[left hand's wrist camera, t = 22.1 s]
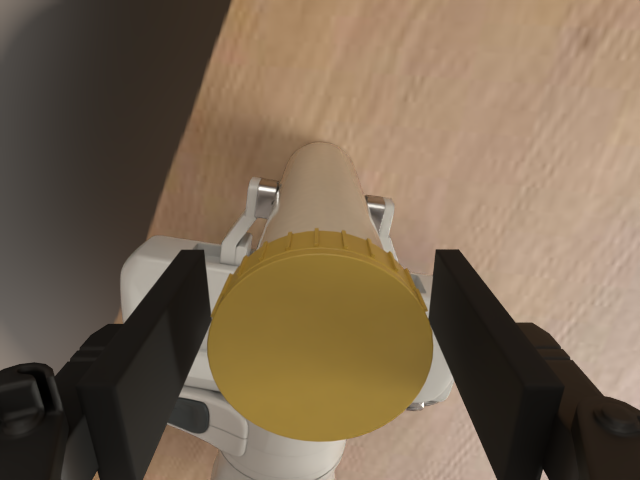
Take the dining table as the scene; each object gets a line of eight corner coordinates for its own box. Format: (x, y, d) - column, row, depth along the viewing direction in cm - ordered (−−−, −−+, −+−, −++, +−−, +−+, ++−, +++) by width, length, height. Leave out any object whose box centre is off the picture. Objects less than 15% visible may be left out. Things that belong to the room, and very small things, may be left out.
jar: (269, 169, 29) (194, 318, 11) (329, 127, 28) (343, 219, 10) (311, 225, 30) (301, 430, 13) (369, 186, 29) (441, 353, 12)
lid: (174, 304, 12) (154, 337, 11) (345, 183, 11) (349, 201, 9) (300, 431, 14) (298, 475, 12) (460, 340, 13) (479, 376, 11)
